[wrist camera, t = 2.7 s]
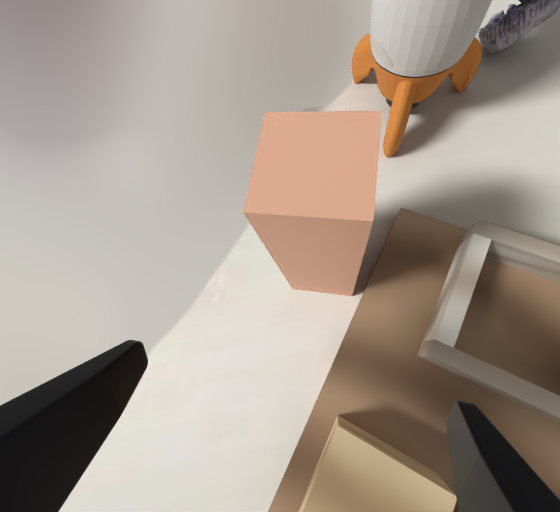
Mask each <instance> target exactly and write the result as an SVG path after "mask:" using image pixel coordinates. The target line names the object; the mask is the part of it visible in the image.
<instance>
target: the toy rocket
mask: <svg viewBox="0 0 560 512" xmlns="http://www.w3.org/2000/svg"><path fill="white" fill-rule="evenodd" d="M491 1H492V0H373V2H372V15H371V26H370V33H369V34H367V35H366V36H364V37H363V38H362V39H361V40H360V41H359V43H358V44H357V46H356V48H355V51H354V54H353V59H352V73H353V78H354V82H355V83H359V82H361V81H362V80H363V79H364V78H365V77H366V76H367V75H368V74H369V73H370V72H372V71H373V70H374V69H375V72H376V77H377V83H378V87H379V89H380V91H381V93H382V94H383V96H384V97H386V101H387V103H388V104H389V106H391V110H390V115H389V119H388V124H387V128H386V133H385V137H384V143H383V147H384V154H385V156H386V157H392V156H393V155H394V154H395V153H396V151H397V150H398V148H399V146H400V144H401V141H402V138H403V135H404V132H405V129H406V125H407V122H408V118H409V115H410V111H411V109H412V108H414V107H415V106H417V105H418V104H419V102H420V101H422V100H424V99H426V98H427V97H429V96H430V95H431V94H432V93H433V92H434V91H435V90H436V89H437V88H438V87H439V85H440V84H441V83H442V82H443V80H444V79H445V78H446V77H447V75H449V77H450V79H451V81H452V83H453V85H454V87H455V89H456V90H457V91H459V92H462V91H463V90H464V89H465V88H466V86H467V85H468V84H469V83H470V82H471V80H472V78H473V77H474V75H475V73H476V72H477V70H478V67H479V65H480V62H481V57H482V50H481V45H480V43H479V41H478V40H477V39H476V38H475V35H476V33H477V32H478V30H479V27H480V25H481V23H482V21H483V19H484V17H485V15H486V12H487V10H488V8H489V6H490V3H491Z"/></svg>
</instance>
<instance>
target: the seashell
mask: <svg viewBox="0 0 560 512" xmlns="http://www.w3.org/2000/svg"><path fill="white" fill-rule="evenodd" d="M519 1H520V2H521V4H519V5H517V6H516V5H515V4H509V7H508V10H507V13H506V14H504V11H500V12H499V13H497V14H495V15H493V16H492V18H491V19H490V21H489V22H488V24H487V25H486V26H485V27H484V28H481V29H480V30H479V32H478V33H479V37H480V41H481V43H482V45H483V46H484V48H486V49H487V50H488V51H489V53H493V52H498V51H500V50H503V49H505V48H507V47H509V46H510V45H511V44H513V43H514V42H515V41H517V40H518V39H520V38H521V37H522V36H523V35H525V34H526V33H528V32H529V31H530V30H531V29H532V28H534V27H535V26H538V25H539V24H540V23H542V22H544V21H545V20H546V19H548V18H550V17H551V16H552V15H553V14H554V13H555V12H557V11H558V9H559V8H560V0H519Z"/></svg>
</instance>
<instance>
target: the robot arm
mask: <svg viewBox="0 0 560 512" xmlns="http://www.w3.org/2000/svg"><path fill="white" fill-rule="evenodd" d="M147 365H148V358H147V355H146V352H145V348H144V345H143V343H142V342H140V341H135V340H128V341H126V342H124V343H122V344H120V345H118V346H116V347H114V348H112V349H110V350H108V351H106V352H104V353H102V354H100V355H98V356H97V357H94V358H92V359H90V360H89V361H87V362H84V363H83V364H81V365H79V366H77V367H75V368H73V369H71V370H69V371H67V372H65V373H63V374H61V375H59V376H57V377H55V378H53V379H51V380H49V381H48V382H45V383H44V384H42V385H40V386H38V387H36V388H34V389H32V390H30V391H28V392H26V393H24V394H22V395H20V396H18V397H16V398H14V399H12V400H10V401H8V402H6V403H4V404H2V405H1V406H0V512H59V510H60V508H61V507H62V505H63V504H64V502H65V501H66V499H67V498H68V496H69V495H70V493H71V492H72V490H73V489H74V487H75V485H76V484H77V482H78V481H79V479H80V478H81V476H82V475H83V473H84V472H85V470H86V469H87V467H88V466H89V464H90V462H91V461H92V459H93V458H94V456H95V455H96V453H97V452H98V450H99V449H100V447H101V446H102V444H103V442H104V441H105V439H106V438H107V436H108V435H109V433H110V432H111V430H112V429H113V427H114V426H115V424H116V423H117V421H118V419H119V418H120V416H121V414H122V413H123V411H124V409H125V407H126V406H127V404H128V402H129V400H130V398H131V396H132V394H133V393H134V391H135V389H136V387H137V385H138V383H139V381H140V379H141V378H142V376H143V374H144V372H145V370H146V368H147ZM446 429H447V437H448V444H449V451H450V458H451V465H452V472H453V479H454V486H455V492H456V498H457V503H458V507H459V512H560V499H559V498H558V497H557V496H556V495H555V494H554V493H553V491H552V490H551V489H550V488H549V487H548V486H547V485H546V484H545V482H544V481H543V480H542V479H541V478H540V477H539V476H538V474H537V473H536V472H535V471H534V470H533V469H532V468H531V467H530V465H529V464H528V463H527V462H526V461H525V460H524V459H523V457H522V456H521V455H520V454H519V453H518V452H517V451H516V450H515V448H514V447H513V446H512V445H511V444H510V443H509V442H508V441H507V439H506V438H505V437H504V436H503V435H502V434H501V433H500V431H499V430H498V429H497V428H496V427H495V426H494V425H493V424H492V422H491V421H490V420H489V419H488V418H487V417H486V416H485V414H484V413H483V412H482V411H481V410H480V409H479V408H478V407H477V406H476V405H475V404H473V403H471V402H465V401H460V400H456V401H455V402H454V403H453V406H452V408H451V411H450V414H449V416H448V419H447V423H446Z"/></svg>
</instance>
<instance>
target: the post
mask: <svg viewBox="0 0 560 512" xmlns="http://www.w3.org/2000/svg"><path fill="white" fill-rule="evenodd" d="M380 124H381V111H336V112H265V114H264V119H263V124H262V128H261V133H260V138H259V142H258V147H257V152H256V156H255V161H254V165H253V170H252V174H251V179H250V184H249V189H248V193H247V198H246V202H245V207H244V211H243V213H244V214H245V216H246V217H247V219H248V220H249V222H250V224H251V225H252V227H253V228H254V230H255V231H256V233H257V234H258V236H259V238H260V239H261V241H262V242H263V244H264V245H265V247H266V248H267V250H268V251H269V253H270V255H271V256H272V258H273V259H274V261H275V262H276V264H277V265H278V267H279V268H280V270H281V272H282V273H283V275H284V276H285V278H286V279H287V281H288V282H289V284H290V286H291V287H292V289H298V290H306V291H315V292H323V293H331V294H339V295H347V296H352V294H353V291H354V287H355V284H356V281H357V277H358V274H359V270H360V267H361V263H362V260H363V256H364V253H365V249H366V246H367V242H368V239H369V235H370V232H371V228H372V225H373V221H374V208H375V194H376V180H377V166H378V152H379V138H380Z"/></svg>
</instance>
